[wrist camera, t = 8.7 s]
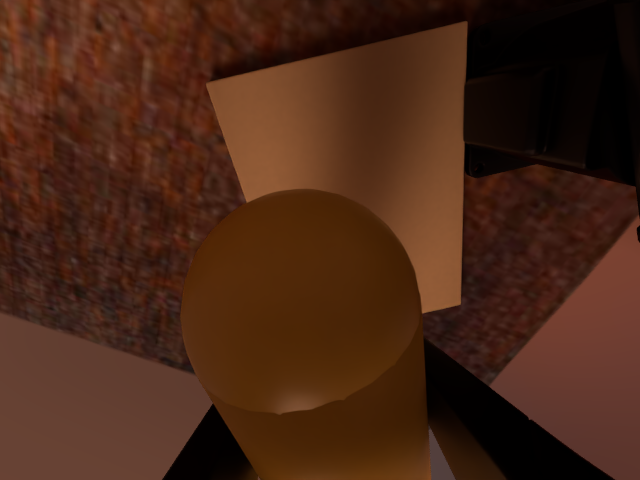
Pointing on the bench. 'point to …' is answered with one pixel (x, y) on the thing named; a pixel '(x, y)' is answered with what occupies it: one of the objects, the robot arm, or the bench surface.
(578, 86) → the robot arm
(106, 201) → the bench surface
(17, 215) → the bench surface
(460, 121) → the birch board
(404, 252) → the orange rounded cylinder
